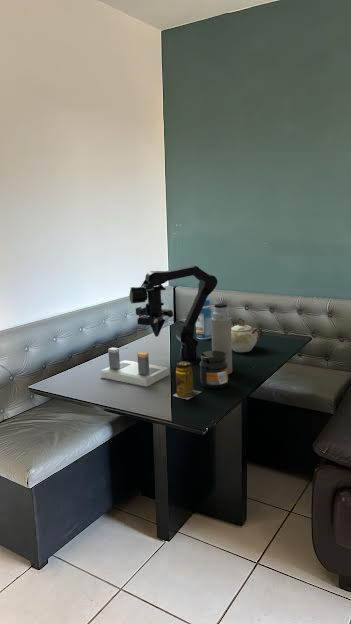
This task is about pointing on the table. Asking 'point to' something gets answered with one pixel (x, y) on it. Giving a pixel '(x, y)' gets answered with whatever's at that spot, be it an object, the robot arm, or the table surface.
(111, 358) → the on handle
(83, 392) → the table surface
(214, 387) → the supplement container
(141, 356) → the orange-capped grey pillar
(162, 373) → the box
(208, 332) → the beverage bottle
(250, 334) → the sugar bowl
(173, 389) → the table surface
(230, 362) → the thermos bottle
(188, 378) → the condiment
